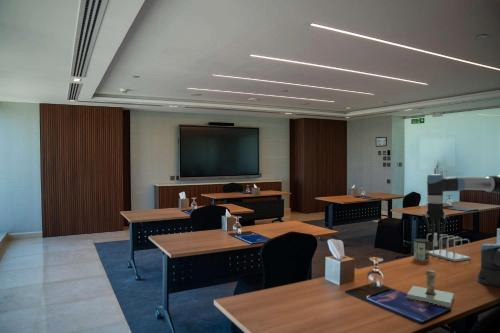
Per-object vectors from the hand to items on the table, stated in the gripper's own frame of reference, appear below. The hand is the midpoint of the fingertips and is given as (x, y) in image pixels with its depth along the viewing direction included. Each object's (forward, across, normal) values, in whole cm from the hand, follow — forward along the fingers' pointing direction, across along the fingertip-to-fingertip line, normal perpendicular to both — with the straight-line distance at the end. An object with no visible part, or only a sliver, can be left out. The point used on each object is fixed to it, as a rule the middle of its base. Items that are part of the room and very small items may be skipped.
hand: (435, 245), depth 194 cm
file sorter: (+28, +3, -88) cm, 92 cm away
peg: (+26, +2, +9) cm, 28 cm away
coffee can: (+27, +18, -69) cm, 77 cm away
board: (+26, +2, +9) cm, 28 cm away
